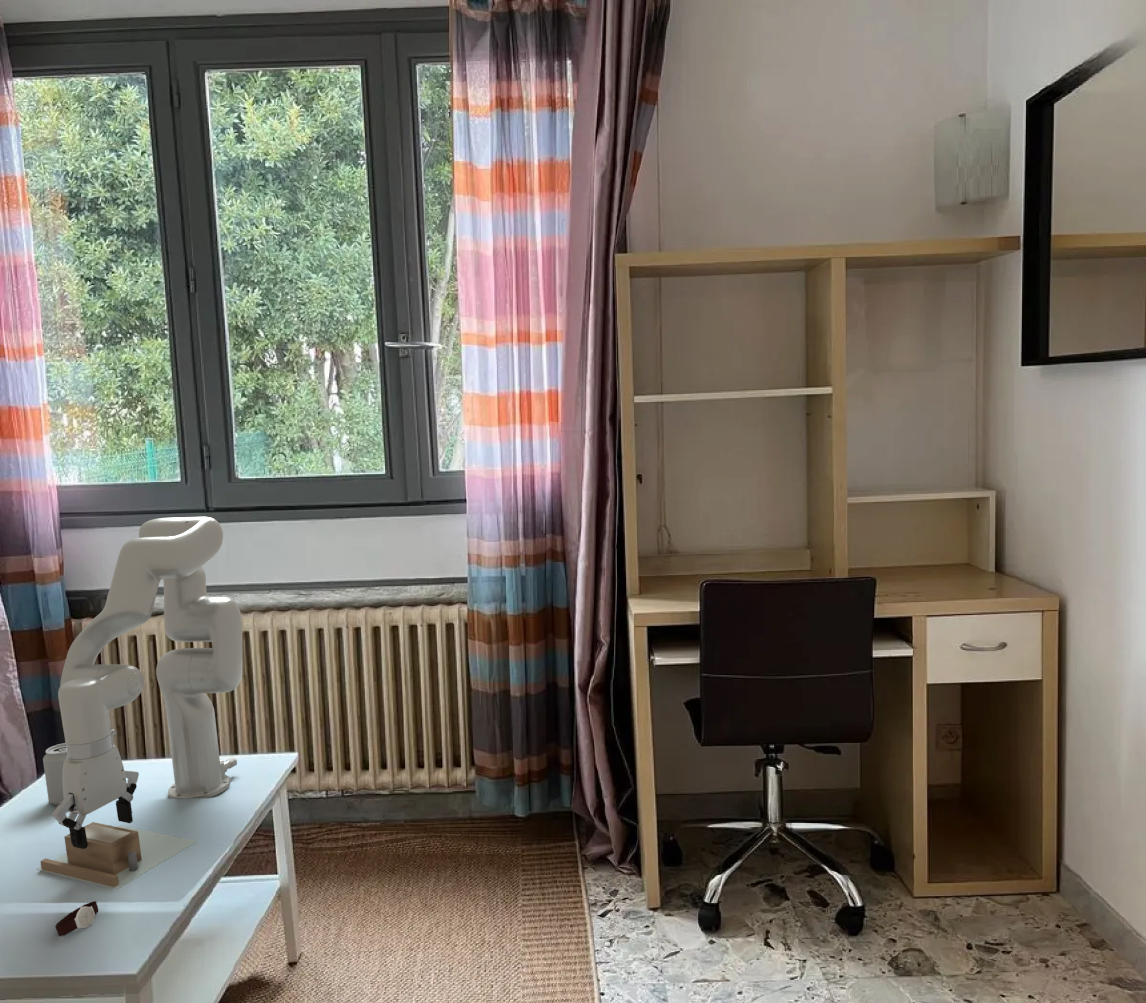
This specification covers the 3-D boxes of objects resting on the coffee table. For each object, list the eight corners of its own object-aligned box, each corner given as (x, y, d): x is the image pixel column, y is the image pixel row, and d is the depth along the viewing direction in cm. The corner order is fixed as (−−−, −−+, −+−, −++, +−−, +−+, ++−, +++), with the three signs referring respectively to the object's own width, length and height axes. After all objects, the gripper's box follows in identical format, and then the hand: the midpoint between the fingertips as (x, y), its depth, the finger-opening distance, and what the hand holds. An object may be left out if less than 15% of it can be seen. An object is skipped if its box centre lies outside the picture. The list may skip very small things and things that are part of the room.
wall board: (120, 831, 191) (117, 811, 190) (197, 847, 182) (195, 826, 181) (37, 875, 175) (34, 853, 174) (117, 895, 166) (114, 872, 165)
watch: (72, 941, 153) (69, 920, 152) (48, 938, 154) (45, 917, 153) (107, 914, 160) (104, 894, 160) (83, 912, 161) (81, 892, 161)
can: (80, 789, 213) (73, 738, 211) (93, 798, 207) (86, 745, 206) (44, 801, 207) (36, 748, 206) (55, 811, 202) (48, 756, 201)
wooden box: (96, 849, 181) (92, 821, 180) (141, 859, 176) (138, 831, 175) (68, 864, 175) (64, 836, 175) (113, 875, 170) (110, 846, 169)
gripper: (116, 725, 182) (128, 809, 185) (32, 763, 167) (47, 854, 169) (144, 730, 179) (156, 815, 182) (61, 769, 163) (76, 861, 166)
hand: (103, 834), depth 175 cm, fingers open, 9 cm apart
